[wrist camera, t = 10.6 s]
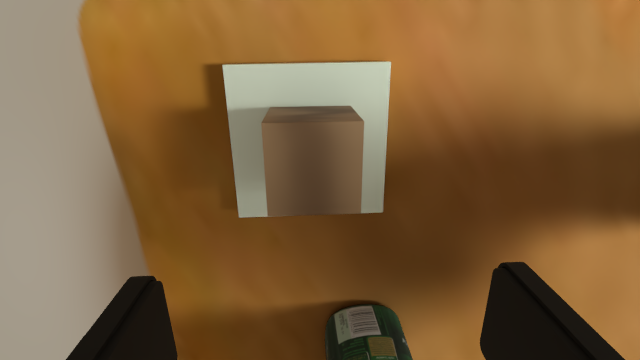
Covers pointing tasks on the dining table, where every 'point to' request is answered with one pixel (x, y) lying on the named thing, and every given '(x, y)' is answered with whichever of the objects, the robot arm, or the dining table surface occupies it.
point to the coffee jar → (365, 334)
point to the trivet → (304, 90)
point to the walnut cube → (313, 160)
